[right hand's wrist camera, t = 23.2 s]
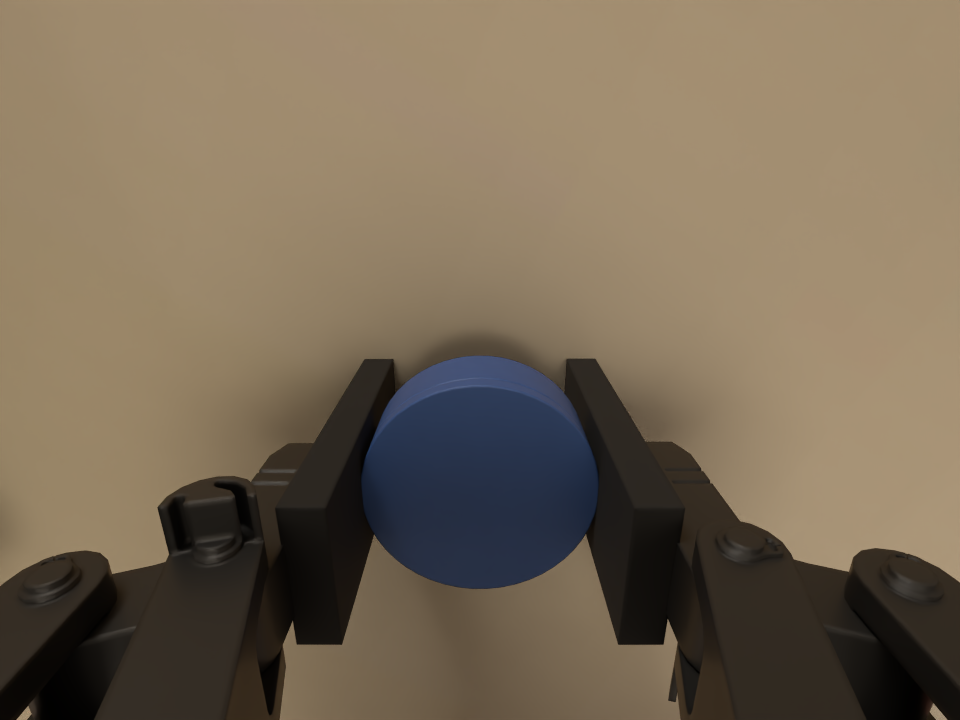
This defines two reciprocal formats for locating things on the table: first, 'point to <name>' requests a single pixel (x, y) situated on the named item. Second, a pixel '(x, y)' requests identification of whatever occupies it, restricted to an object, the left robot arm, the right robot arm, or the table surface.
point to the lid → (479, 474)
